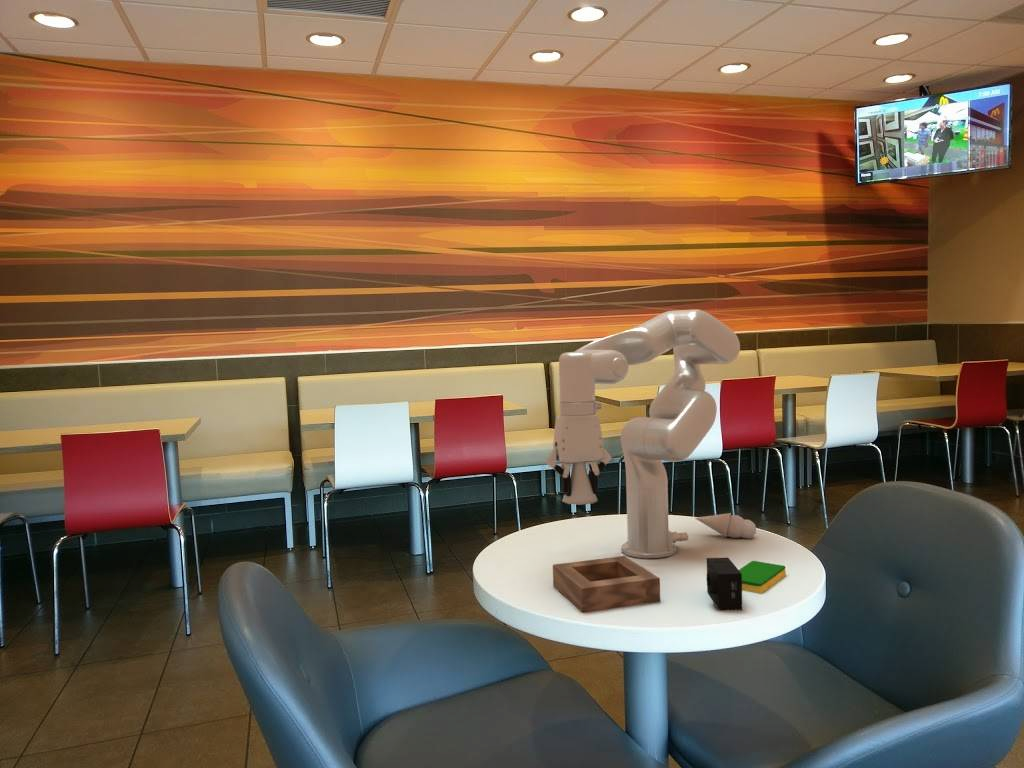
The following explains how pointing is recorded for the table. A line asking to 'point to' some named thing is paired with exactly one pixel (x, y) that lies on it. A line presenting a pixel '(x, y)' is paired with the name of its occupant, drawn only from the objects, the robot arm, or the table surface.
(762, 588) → the dish sponge
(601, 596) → the condiment dock
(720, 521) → the ice cream cone
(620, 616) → the table surface
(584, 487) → the flask
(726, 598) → the digital camera
